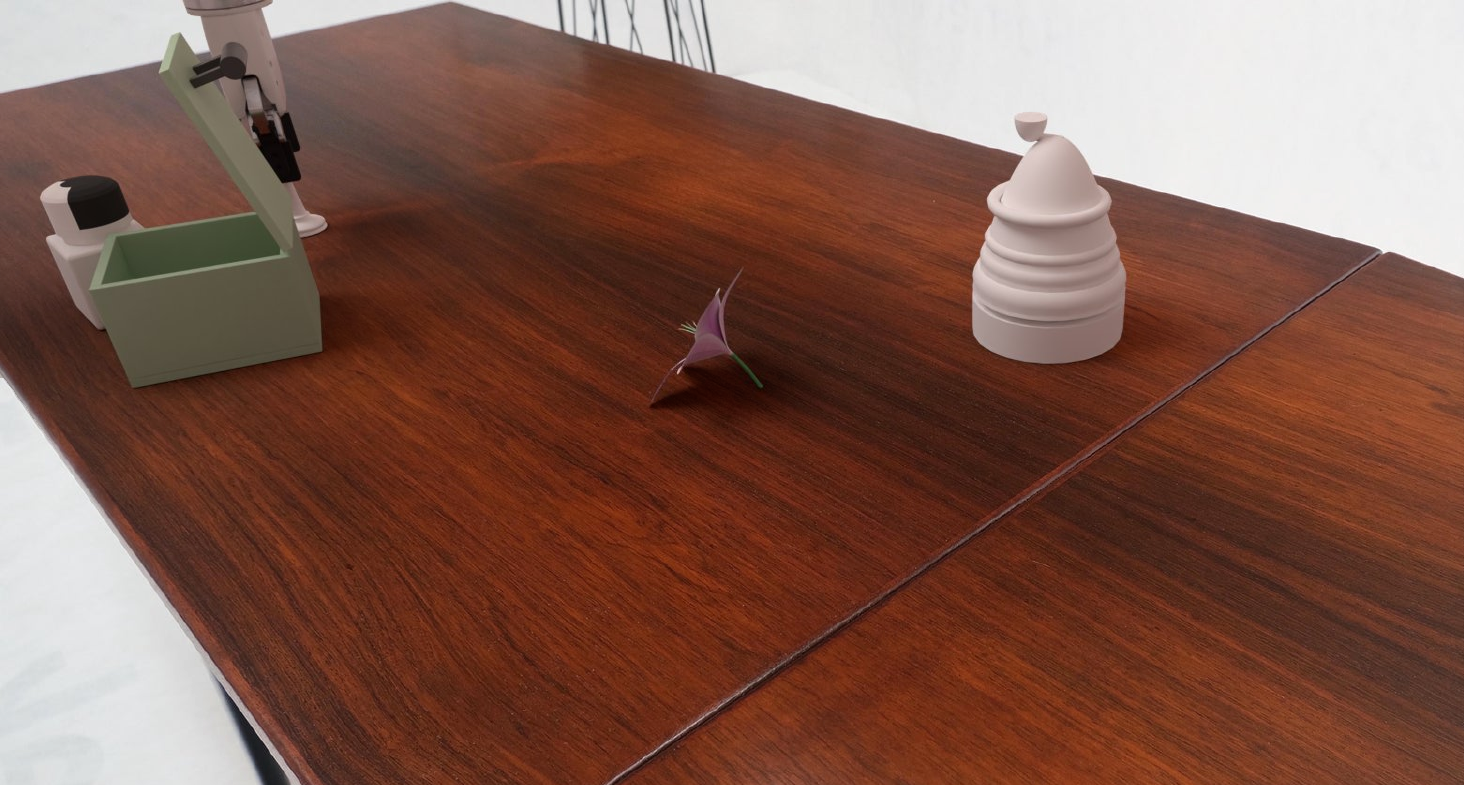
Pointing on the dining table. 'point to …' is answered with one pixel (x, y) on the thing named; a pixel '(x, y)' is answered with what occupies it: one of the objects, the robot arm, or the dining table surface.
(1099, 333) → the honey pot
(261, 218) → the box lid
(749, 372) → the lily
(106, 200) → the medicine bottle
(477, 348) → the dining table surface
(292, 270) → the green box
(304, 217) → the chess piece
